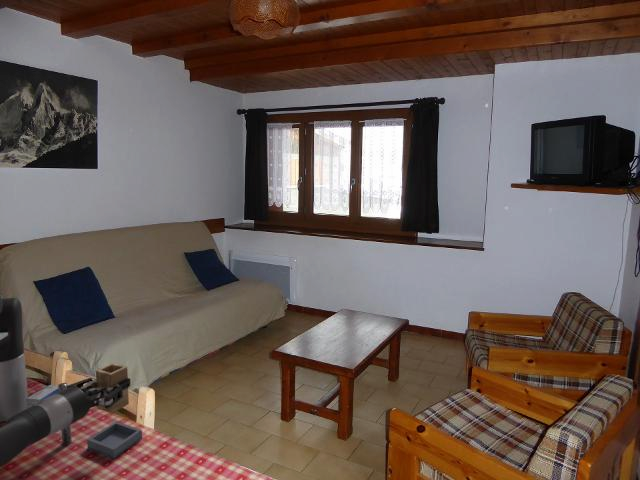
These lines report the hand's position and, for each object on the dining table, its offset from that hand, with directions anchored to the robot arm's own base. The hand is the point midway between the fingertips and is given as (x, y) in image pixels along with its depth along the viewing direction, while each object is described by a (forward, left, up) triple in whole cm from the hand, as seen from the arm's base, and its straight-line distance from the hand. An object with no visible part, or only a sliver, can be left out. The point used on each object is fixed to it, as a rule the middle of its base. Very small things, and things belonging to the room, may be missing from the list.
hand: (120, 379), depth 115 cm
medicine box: (-20, -15, -17) cm, 30 cm away
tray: (+1, -2, -17) cm, 17 cm away
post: (-6, -12, -17) cm, 21 cm away
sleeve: (+1, -2, -6) cm, 7 cm away
